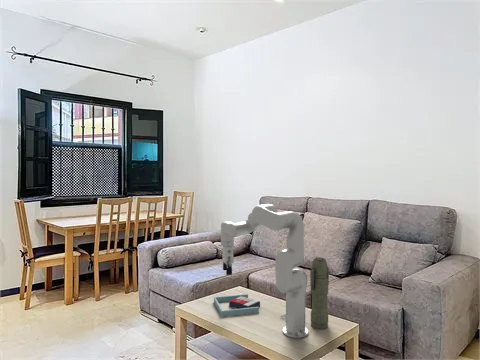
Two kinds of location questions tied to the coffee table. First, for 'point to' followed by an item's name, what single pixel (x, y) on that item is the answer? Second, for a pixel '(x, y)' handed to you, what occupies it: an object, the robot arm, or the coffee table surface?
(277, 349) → the coffee table surface
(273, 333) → the coffee table surface
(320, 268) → the thermos
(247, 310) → the teal u-shaped piece
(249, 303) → the calculator
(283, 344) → the coffee table surface
